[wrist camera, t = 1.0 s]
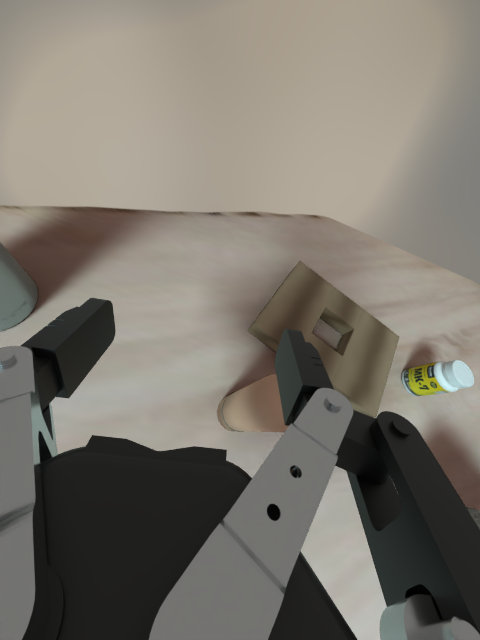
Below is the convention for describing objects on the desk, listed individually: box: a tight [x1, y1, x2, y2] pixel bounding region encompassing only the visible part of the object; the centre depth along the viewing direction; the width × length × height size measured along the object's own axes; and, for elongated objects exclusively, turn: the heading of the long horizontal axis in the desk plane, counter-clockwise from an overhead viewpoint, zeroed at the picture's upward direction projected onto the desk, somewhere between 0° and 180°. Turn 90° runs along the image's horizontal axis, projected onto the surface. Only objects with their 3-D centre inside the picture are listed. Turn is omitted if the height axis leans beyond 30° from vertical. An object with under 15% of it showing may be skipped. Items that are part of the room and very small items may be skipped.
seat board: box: [248, 261, 399, 417], centre depth 40 cm, size 22×16×3 cm
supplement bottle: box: [402, 360, 474, 396], centre depth 39 cm, size 5×5×8 cm
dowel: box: [217, 374, 289, 432], centre depth 26 cm, size 5×5×14 cm
